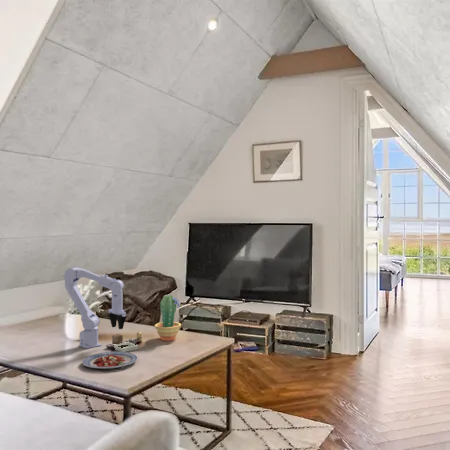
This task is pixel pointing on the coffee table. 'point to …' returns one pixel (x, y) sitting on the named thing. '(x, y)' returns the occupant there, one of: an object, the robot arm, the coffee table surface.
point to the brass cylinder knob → (137, 337)
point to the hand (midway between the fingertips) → (117, 327)
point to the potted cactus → (168, 319)
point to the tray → (126, 349)
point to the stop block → (117, 339)
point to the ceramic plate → (109, 360)
